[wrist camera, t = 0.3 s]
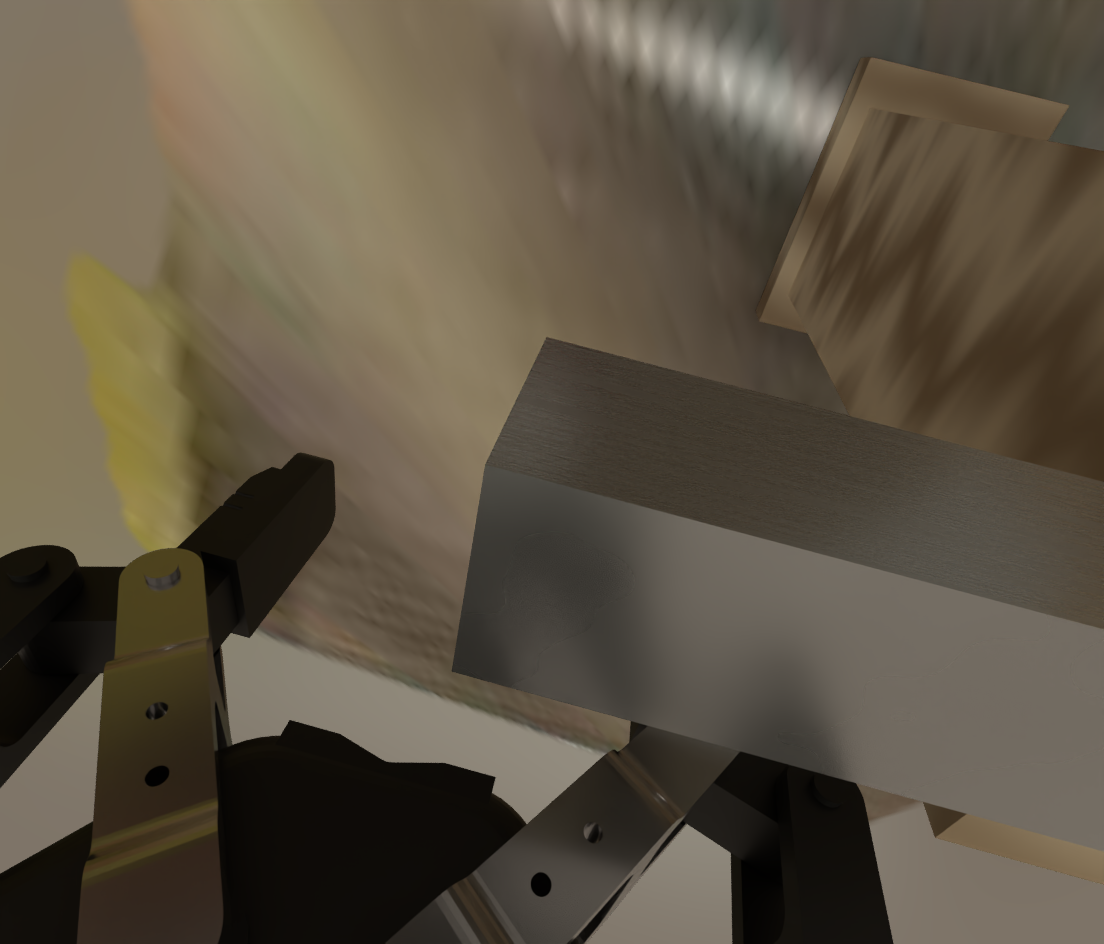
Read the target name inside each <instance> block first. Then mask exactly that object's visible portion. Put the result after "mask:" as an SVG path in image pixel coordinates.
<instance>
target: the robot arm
mask: <svg viewBox="0 0 1104 944" xmlns="http://www.w3.org/2000/svg"><path fill="white" fill-rule="evenodd" d="M335 510H336V506H335V474H334V464H333V462H332V461H331V460H328V459H324V458H320V457H317V456H313V455H309V454H305V453H297V454H296V455H295V456H294V457H293V458H292V459H291V460H290V461H289V462H288V463H287V464H286V465H285V466H284V467H283V468H282V469H277V468H274V467H271V468H269V469H267V470H265V471H263V472H260V473H258V474H256V475H254V476H252V477H250V478H249V479H248V480H247V481H246V482H245V483H244V484H243V485H242V486H241V487H240V488H239V489H238V490H237V491H236V493H235V494H233V495H231V496H230V497H229V498H228V499H227V500H226V501H225V502H224V505H223V506H220V507H219V508H218V509H217V510H216V511H215V512H214V513H213V514H212V515H211V516H210V517H208V518H207V519H206V520H205V521H204V522H203V523H202V524H201V525H200V526H199V527H198V528H197V529H196V530H195V531H194V532H193V533H192V534H191V535H190V536H189V537H188V538H187V539H185V540H184V541H183V542H182V543H181V544H180V545H179V546H178V547H177V548H167V549H160V550H155V551H152V552H149V553H146V554H144V555H142V556H140V557H138V558H136V559H135V560H133V561H132V562H131V563H130V564H129V565H127V566H126V567H79V565H78V563H77V560H76V558H75V556H74V554H73V553H72V552H71V551H70V550H68V549H66V548H63V547H60V546H54V545H40V546H32V547H27V548H24V549H20V550H17V551H14V552H11V553H9V554H7V555H5V556H3V557H1V558H0V788H1V787H2V785H3V784H4V783H5V782H6V781H7V780H8V779H9V777H10V776H11V775H12V774H13V773H14V772H15V771H16V769H17V768H18V767H19V766H20V765H21V764H22V762H23V761H24V760H25V759H26V758H27V757H28V756H29V754H30V753H31V752H32V751H33V750H34V749H35V748H36V746H37V745H38V744H39V743H40V742H41V741H42V740H43V738H44V737H45V736H46V735H47V734H48V732H49V731H50V730H51V729H52V728H53V727H54V726H55V725H56V723H57V722H58V721H59V720H60V719H61V718H62V716H63V715H64V714H65V713H66V712H67V711H68V710H69V708H70V707H71V706H72V705H73V704H74V703H75V701H76V700H77V699H78V698H79V697H80V696H81V694H82V693H83V692H84V691H85V690H86V689H87V688H88V687H89V685H90V684H91V683H92V682H93V681H94V680H95V678H96V677H97V676H98V675H99V674H100V673H104V675H103V688H102V702H101V716H100V731H99V745H98V760H97V773H96V789H95V802H94V817H93V822H91V823H89V824H87V825H86V826H84V827H82V828H80V829H79V830H77V831H75V832H73V833H71V834H70V835H68V836H66V837H64V838H63V839H61V840H59V841H57V842H55V843H54V844H52V845H50V846H49V847H47V848H45V849H43V850H41V851H40V852H38V853H36V854H34V855H32V856H31V857H29V858H27V859H25V860H24V861H22V862H20V863H18V864H17V865H15V866H13V867H11V868H9V869H8V870H6V871H4V872H2V873H1V874H0V944H586V943H587V942H588V941H589V939H590V938H591V937H592V936H593V935H594V934H595V933H596V931H597V930H598V929H599V928H600V927H601V926H602V924H603V923H604V922H605V921H606V920H607V919H608V917H609V916H610V915H611V914H612V912H613V911H614V910H615V909H616V908H617V906H618V905H619V904H620V903H621V902H622V900H623V899H624V898H625V896H626V895H627V894H628V892H629V891H630V890H631V889H632V888H633V886H634V885H635V884H636V883H637V882H638V880H639V879H640V878H641V877H642V876H643V875H644V873H645V872H646V871H647V870H648V869H649V868H650V867H651V865H652V864H653V863H654V862H655V861H656V860H657V858H658V857H659V856H660V855H661V854H662V853H663V852H664V850H665V849H666V848H667V847H668V846H669V845H670V843H671V842H672V841H673V840H674V839H675V837H676V836H677V835H678V834H679V833H680V832H681V831H682V830H683V828H684V827H685V826H686V825H687V824H688V825H690V826H691V827H693V828H694V829H696V830H697V831H699V832H701V833H702V834H703V835H705V836H706V837H708V838H709V839H711V840H713V841H714V842H715V843H717V844H718V845H720V846H721V847H723V848H724V849H726V850H728V851H729V852H730V853H731V884H732V885H731V889H732V940H733V941H732V942H733V943H732V944H893V940H892V935H891V930H890V925H889V920H888V915H887V910H886V905H885V900H884V895H883V890H882V886H881V881H880V876H879V871H878V866H877V861H876V857H875V851H874V846H873V842H872V837H871V832H870V827H869V822H868V817H867V812H866V807H865V803H864V799H863V796H862V794H861V792H860V790H859V788H858V786H857V784H856V783H854V782H850V781H846V780H843V779H839V778H835V777H832V776H828V775H825V774H821V773H817V772H814V771H810V770H807V769H803V768H799V767H796V766H792V765H788V764H785V763H781V762H778V761H774V760H770V759H767V758H763V757H760V756H756V755H752V754H749V753H745V752H741V751H738V750H734V749H731V748H727V747H723V746H720V745H716V744H712V743H709V742H705V741H702V740H698V739H694V738H691V737H687V736H684V735H680V734H676V733H673V732H669V731H665V730H662V729H658V728H655V727H651V726H647V725H644V724H640V723H636V722H633V721H631V726H630V741H629V743H628V744H627V745H626V746H625V747H624V748H623V749H622V750H620V751H618V752H617V751H616V750H612V751H610V752H608V753H607V754H606V755H604V756H603V757H602V758H601V759H600V760H598V761H597V762H596V763H595V764H594V765H593V766H592V767H591V768H590V769H588V770H587V771H586V772H585V773H584V774H583V775H582V776H580V777H579V778H578V779H577V780H576V781H575V782H574V783H573V784H572V785H570V786H569V787H568V788H567V789H566V790H565V791H564V792H563V793H561V794H560V795H559V796H558V797H557V798H556V799H555V800H554V801H552V802H551V803H550V804H549V805H548V806H547V807H546V808H545V809H543V810H542V811H541V812H540V813H539V814H538V815H537V816H536V817H535V818H533V819H532V820H531V821H530V822H529V823H528V824H526V823H525V821H524V820H523V819H522V817H521V816H520V815H519V814H518V813H517V812H516V811H515V810H514V809H513V808H512V807H511V806H510V805H508V804H507V803H506V802H505V801H503V800H502V799H501V798H499V797H497V796H496V795H494V794H493V793H492V789H493V785H494V781H495V777H493V776H489V775H486V774H482V773H479V772H475V771H471V770H468V769H464V768H461V767H457V766H453V765H450V764H446V763H392V762H386V761H384V760H382V759H380V758H378V757H377V756H375V755H373V754H372V753H370V752H368V751H367V750H365V749H364V748H362V747H360V746H359V745H357V744H355V743H354V742H352V741H351V740H349V739H347V738H346V737H344V736H342V735H341V734H338V733H335V732H331V731H327V730H323V729H320V728H317V727H313V726H309V725H306V724H302V723H299V722H295V721H291V720H289V722H288V724H287V726H286V727H285V729H284V731H283V732H282V734H281V736H269V737H260V738H255V739H251V740H246V741H243V742H240V743H237V744H234V745H232V739H231V734H230V726H229V718H228V708H227V699H226V687H225V676H224V666H223V656H222V649H221V645H222V643H223V642H224V641H225V640H226V638H227V637H228V636H229V634H230V633H233V634H237V635H241V636H244V637H248V638H250V637H251V635H252V634H253V633H254V631H255V630H256V629H257V628H258V626H259V625H260V624H261V622H262V621H263V620H264V618H265V617H266V616H267V614H268V613H269V612H270V610H271V609H272V608H273V606H274V605H275V604H276V602H277V601H278V600H279V598H280V597H281V596H282V594H283V593H284V592H285V590H286V589H287V588H288V586H289V585H290V584H291V582H292V581H293V580H294V578H295V577H296V576H297V574H298V573H299V572H300V570H301V569H302V568H303V566H304V565H305V564H306V562H307V561H308V560H309V558H310V557H311V556H312V554H313V553H314V552H315V550H316V549H317V548H318V546H319V545H320V544H321V542H322V541H323V540H324V538H325V537H326V536H327V534H328V532H329V531H330V529H331V526H332V524H333V521H334V517H335ZM10 659H11V660H10ZM9 660H10V661H9ZM8 661H9V662H8ZM7 662H8V663H7ZM6 663H7V664H6ZM5 664H6V665H5ZM4 665H5V666H4ZM3 666H4V667H3ZM2 667H3V668H2ZM1 668H2V669H1Z"/></svg>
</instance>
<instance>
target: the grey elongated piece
mask: <svg viewBox="0 0 1104 944" xmlns="http://www.w3.org/2000/svg"><path fill="white" fill-rule="evenodd" d="M452 672H456V673H459V674H463V675H466V676H470V677H474V678H477V679H481V680H485V681H488V682H492V683H495V684H499V685H503V686H506V687H510V688H513V689H517V690H521V691H524V692H528V693H532V694H535V695H539V696H542V697H546V698H550V699H553V700H557V701H560V702H564V703H568V704H571V705H575V706H579V707H582V708H586V709H589V710H593V711H597V712H600V713H604V714H608V715H611V716H615V717H618V718H622V719H626V720H629V721H633V722H636V723H640V724H644V725H647V726H651V727H655V728H658V729H662V730H665V731H669V732H673V733H676V734H680V735H684V736H687V737H691V738H694V739H698V740H702V741H705V742H709V743H712V744H716V745H720V746H723V747H727V748H731V749H734V750H738V751H741V752H745V753H749V754H752V755H756V756H760V757H763V758H767V759H770V760H774V761H778V762H781V763H785V764H788V765H792V766H796V767H799V768H803V769H807V770H810V771H814V772H817V773H821V774H825V775H828V776H832V777H835V778H839V779H843V780H846V781H850V782H854V783H857V784H861V785H864V786H868V787H872V788H875V789H879V790H883V791H886V792H890V793H893V794H897V795H901V796H904V797H908V798H911V799H915V800H919V801H922V802H926V803H930V804H933V805H937V806H940V807H944V808H948V809H951V810H955V811H959V812H962V813H966V814H969V815H973V816H977V817H980V818H984V819H987V820H991V821H995V822H998V823H1002V824H1006V825H1009V826H1013V827H1016V828H1020V829H1024V830H1027V831H1031V832H1034V833H1038V834H1042V835H1045V836H1049V837H1053V838H1056V839H1060V840H1063V841H1067V842H1071V843H1074V844H1078V845H1082V846H1085V847H1089V848H1092V849H1096V850H1100V851H1103V852H1104V482H1102V481H1098V480H1094V479H1090V478H1087V477H1083V476H1079V475H1075V474H1071V473H1067V472H1064V471H1060V470H1056V469H1052V468H1048V467H1044V466H1040V465H1037V464H1033V463H1029V462H1025V461H1021V460H1017V459H1013V458H1010V457H1006V456H1002V455H998V454H994V453H990V452H987V451H983V450H979V449H975V448H971V447H967V446H963V445H960V444H956V443H952V442H948V441H944V440H940V439H937V438H933V437H929V436H925V435H921V434H917V433H913V432H910V431H906V430H902V429H898V428H894V427H890V426H887V425H883V424H879V423H875V422H871V421H867V420H863V419H860V418H856V417H852V416H848V415H844V414H840V413H836V412H833V411H829V410H825V409H821V408H817V407H813V406H810V405H806V404H802V403H798V402H794V401H790V400H786V399H783V398H779V397H775V396H771V395H767V394H763V393H760V392H756V391H752V390H748V389H744V388H740V387H736V386H733V385H729V384H725V383H721V382H717V381H713V380H709V379H706V378H702V377H698V376H694V375H690V374H686V373H683V372H679V371H675V370H671V369H667V368H663V367H659V366H656V365H652V364H648V363H644V362H640V361H636V360H633V359H629V358H625V357H621V356H617V355H613V354H609V353H606V352H602V351H598V350H594V349H590V348H586V347H583V346H579V345H575V344H571V343H567V342H563V341H559V340H556V339H552V338H548V337H546V340H545V342H544V344H543V346H542V348H541V350H540V352H539V354H538V356H537V358H536V360H535V362H534V364H533V367H532V369H531V371H530V373H529V375H528V377H527V379H526V381H525V383H524V385H523V387H522V389H521V391H520V394H519V396H518V398H517V400H516V402H515V404H514V406H513V408H512V410H511V412H510V414H509V416H508V418H507V421H506V423H505V425H504V427H503V429H502V431H501V433H500V435H499V437H498V439H497V441H496V443H495V445H494V448H493V450H492V452H491V454H490V456H489V458H488V460H487V462H486V464H485V469H484V476H483V482H482V488H481V494H480V500H479V506H478V513H477V519H476V525H475V531H474V537H473V544H472V550H471V556H470V562H469V568H468V574H467V581H466V587H465V593H464V599H463V605H462V611H461V618H460V624H459V630H458V636H457V642H456V648H455V655H454V661H453V667H452Z"/></svg>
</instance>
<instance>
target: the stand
mask: <svg viewBox="0 0 1104 944" xmlns="http://www.w3.org/2000/svg"><path fill="white" fill-rule="evenodd" d="M1068 107H1069V105H1065V104H1061V103H1057V102H1053V101H1049V100H1045V99H1041V98H1037V97H1033V96H1029V95H1024V94H1020V93H1016V92H1012V91H1008V90H1004V89H1000V88H996V87H992V86H987V85H983V84H979V83H975V82H971V81H967V80H963V79H959V78H955V77H950V76H946V75H942V74H938V73H934V72H930V71H926V70H922V69H918V68H913V67H909V66H905V65H901V64H897V63H893V62H889V61H885V60H881V59H877V58H872V57H867V58H861V59H860V61H859V63H858V66H857V68H856V71H855V73H854V75H853V78H852V80H851V83H850V85H849V87H848V90H847V92H846V95H845V97H844V99H843V102H842V104H841V107H840V109H839V112H838V114H837V116H836V119H835V121H834V124H833V126H832V128H831V131H830V133H829V136H828V138H827V140H826V143H825V145H824V148H823V150H822V152H821V155H820V157H819V160H818V162H817V164H816V167H815V169H814V172H813V174H812V176H811V179H810V181H809V184H808V186H807V188H806V191H805V193H804V196H803V198H802V201H801V203H800V205H799V208H798V210H797V213H796V215H795V217H794V220H793V222H792V225H791V227H790V229H789V232H788V234H787V237H786V239H785V241H784V244H783V246H782V249H781V251H780V253H779V256H778V258H777V261H776V263H775V265H774V268H773V270H772V273H771V275H770V277H769V280H768V282H767V285H766V287H765V289H764V292H763V294H762V297H761V299H760V302H759V304H758V306H757V309H756V313H757V316H758V319H759V321H761V322H764V323H768V324H772V325H776V326H780V327H784V328H788V329H792V330H796V331H800V332H803V333H807V334H808V335H809V337H810V339H811V341H812V343H813V345H814V347H815V349H816V351H817V353H818V355H819V357H820V358H821V360H822V362H823V364H824V366H825V368H826V370H827V372H828V374H829V376H830V378H831V380H832V382H833V384H834V386H835V388H836V390H837V392H838V394H839V396H840V398H841V400H842V402H843V404H844V406H845V407H846V409H847V411H848V413H849V415H850V416H852V417H856V418H860V419H863V420H867V421H871V422H875V423H879V424H883V425H887V426H890V427H894V428H898V429H902V430H906V431H910V432H913V433H917V434H921V435H925V436H929V437H933V438H937V439H940V440H944V441H948V442H952V443H956V444H960V445H963V446H967V447H971V448H975V449H979V450H983V451H987V452H990V453H994V454H998V455H1002V456H1006V457H1010V458H1013V459H1017V460H1021V461H1025V462H1029V463H1033V464H1037V465H1040V466H1044V467H1048V468H1052V469H1056V470H1060V471H1064V472H1067V473H1071V474H1075V475H1079V476H1083V477H1087V478H1090V479H1094V480H1098V481H1102V482H1104V151H1099V150H1094V149H1089V148H1083V147H1078V146H1072V145H1067V144H1062V143H1056V142H1051V141H1048V140H1049V138H1050V137H1051V135H1052V133H1053V132H1054V130H1055V128H1056V127H1057V125H1058V123H1059V122H1060V120H1061V118H1062V117H1063V115H1064V114H1065V112H1066V110H1067V109H1068ZM923 804H924V807H925V810H926V812H927V815H928V818H929V821H930V824H931V827H932V830H933V833H934V836H935V838H938V839H941V840H945V841H948V842H952V843H956V844H959V845H963V846H966V847H970V848H974V849H977V850H981V851H985V852H988V853H992V854H996V855H999V856H1002V857H1006V858H1010V859H1013V860H1017V861H1020V862H1024V863H1028V864H1031V865H1035V866H1038V867H1042V868H1046V869H1050V870H1053V871H1056V872H1060V873H1064V874H1067V875H1071V876H1074V877H1078V878H1082V879H1085V880H1089V881H1092V882H1096V883H1100V884H1103V885H1104V852H1103V851H1100V850H1096V849H1092V848H1089V847H1085V846H1082V845H1078V844H1074V843H1071V842H1067V841H1063V840H1060V839H1056V838H1053V837H1049V836H1045V835H1042V834H1038V833H1034V832H1031V831H1027V830H1024V829H1020V828H1016V827H1013V826H1009V825H1006V824H1002V823H998V822H995V821H991V820H987V819H984V818H980V817H977V816H973V815H969V814H966V813H962V812H959V811H955V810H951V809H948V808H944V807H940V806H937V805H933V804H930V803H926V802H923Z"/></svg>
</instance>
